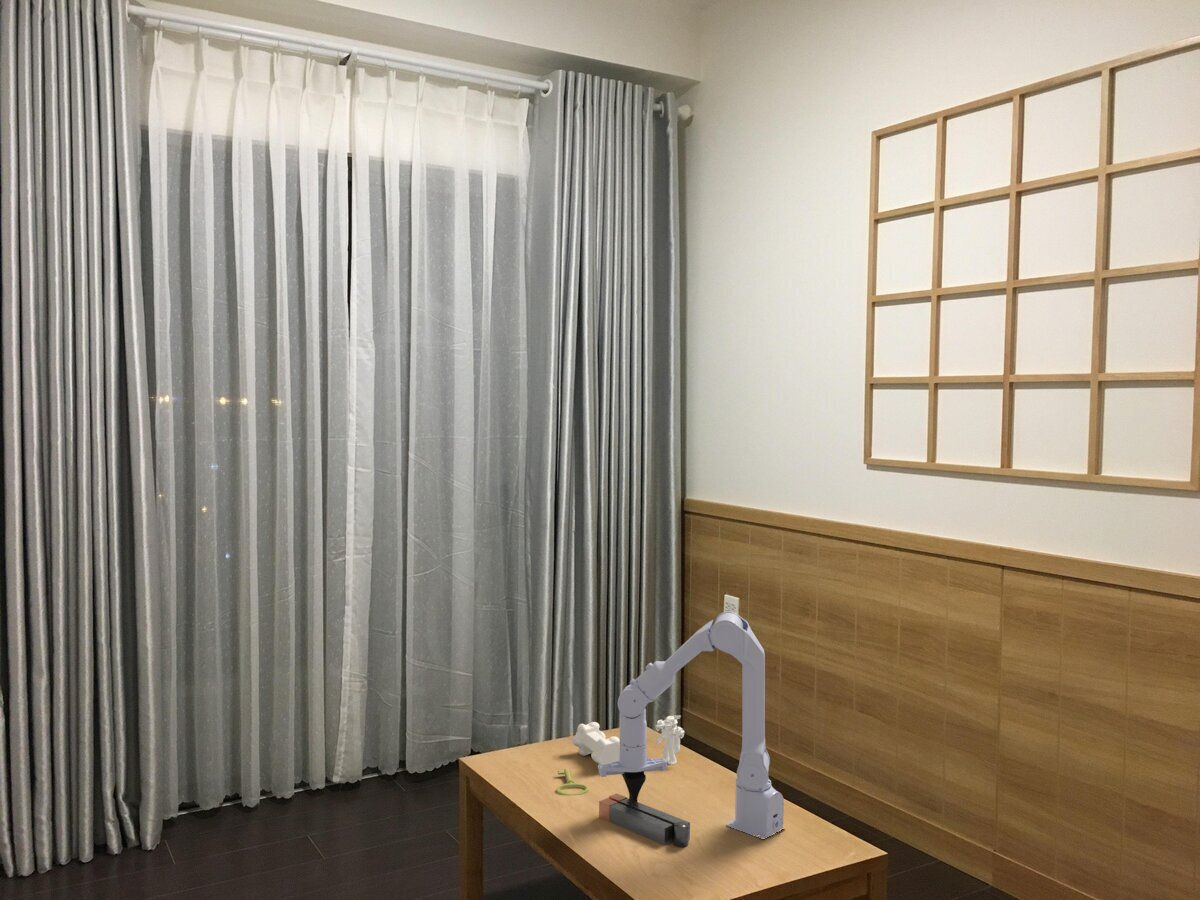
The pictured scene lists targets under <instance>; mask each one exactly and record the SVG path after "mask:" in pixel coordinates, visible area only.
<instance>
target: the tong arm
mask: <svg viewBox="0 0 1200 900" xmlns="http://www.w3.org/2000/svg"><path fill="white" fill-rule="evenodd" d="M608 798H609V799H611V800H614V801H616V802H618V803H620V804H622V805H625V806H627V807H630V808H632V809H635V810H637V811H640V812H642V813H644V814H647V815H649V816H652V817H654V818H657V819H659V820H662V821H664V822H667V823H669V824H672V825H673V834H672V841H673V844H674V846H675V847H678V848H685V847H688V846H689V841H690V839H691V837H690V836H691V834H690V833H691V822H690V821H688V820H685V819H683V818H679V817H677V816H675V815H672V814H669V813H667V812H664V811H662V810H659V809H656V808H653V807H652V806H649V805H646V804H644V803H641V802H638V801H637V802H636V801H634V800H631V799H629V797H627V796H624V795H622V794H621V793H616V792H615V793H614V794H612V795H608Z"/></svg>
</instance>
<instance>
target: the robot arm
mask: <svg viewBox="0 0 1200 900" xmlns="http://www.w3.org/2000/svg"><path fill="white" fill-rule="evenodd" d="M713 622H714V623H713ZM715 649H718V650H719V651H721V652H724V653H726V654H729V655H731V656H732V657H734V658H735V659H736V660H737V661H738V662H739V663H740V664H741V665H742V667H741V668H742V669H741V670H742V672H741V673H742V675H741V676H742V678H741V679H742V680H741V681H742V684H741V685H742V687H741V689H742V690H741V691H742V695H741V697H742V699H741V700H742V701H741V703H742V706H741V707H742V712H741V713H742V714H741V716H742V720H741V722H742V727H741V728H742V731H741V733H742V734H741V735H742V740H741V741H742V743H741V753H740V754H739V763H738V766H737V769H736V778H735V802H734V803H735V811H734V812H735V813H734V814H735V815H734V816H735V817H734V819H733V820H731V821H728V822H726V827H728V828H730V827H731V828H730V829H733V828H734V829H733V830H736V829H737V830H736V831H738V830H740V831H739V832H741V831H743V832H746V833H748V834H747V835H749V834H751V835H755V836H758V835H760V836H758V837H760V838H766V837H768V836H770V835H772V834H773V833H775V832H777V831H779V830H780V829H782V828H783V825H784V816H785V815H784V813H785V811H784V807H785V804H784V803H785V801H784V796H783V794H782V793H781V792H779V791H777V790H776V789H775V788H774V787H773V786H772V780H770V777H769V770H770V769H769V767H770V765H771V758H770V754H769V753H768V750H767V748H766V734H765V733H766V729H765V728H766V722H765V721H766V718H765V717H766V715H765V714H766V709H765V708H766V705H765V704H766V703H765V702H766V680H765V679H766V678H765V677H766V673H765V672H766V653H765V649H764V648H763V646H762V645H761V643H760V642H759V639H758V638H757V636H756V635H755V633H754V632H753V631H752V628H751V626H750V624H749V622H748V621H747V620H746V619H744V618H743V617H742V616H740V615H739V614H738V613H736V612H735V611H730V610H729V611H724V612H721V613H719V614H718V615H717V617H715V620H714V619H712V620H710V621H709V622H707V623H706V624H704V625H703V626H702V627H701V628H699V629H698V630H697V631H695V633H694V634H692V635H691V636H690V637H689V638H688V639H687V640H686V641H685V642H684V643H683V644H682V645H681V646H680V647H679V648H678V649H677V650H676V651H674V653H673V654H671V655H670V656H669V657H668V658H667V659H666V660H665V661H664V660H656V661H654V663H652V662H649V663H648V664H647V665H646V666H645V670H644V672H642V673H641V674H640V675H639V676H638V677H637V678H632V679H631V680H630V681H629V684H628V685H626V686H625V687H624V688H623V690H622V691H621V693H620V695H619V696H618V700H617V709H618V711H619V717H620V718H619V719H620V720H619V740H620V743H619V745H620V760H619V761H616V762H612V763H608V764H604V765H599V764H598V765H599V769H598V775H599V776H600V777H601V778H605V777H607V776H615V775H621V776H622V778H623V780H624V782H625V785H626V787H627V791H628V799H631V800H634V801H636V802H638V797H639V794H640V792H641V789H642V787H643V785H644V784H645V782H646V779H647V778H646V777H647V776H646V774H645V772H652V771H662V772H664V771H665V772H666V771H668V761H666V760H665V759H662V758H647V755H648V754H647V753H648V752H647V751H648V750H647V741H648V740H647V739H648V738H647V737H648V734H647V732H648V731H647V728H648V727H647V726H648V725H647V709H646V707H647V706H648V704H649V703H652V702H654V701H656V699H657V698H658V697H659V696H661V694H663V693H664V692H665V691H666V690H668V689H669V688H670V687H671V686H672V685H673V684H674V683H675V680H676V679H675V677H676V676H675V675H676V673H678V671H680V670H681V669H682V668H683V667H685V666H686V665H687V664H688V663H690V661H692V660H693V659H694V658H695V657H697V656H698V655H700V653H701V652H714V651H715ZM743 832H742V833H743ZM746 833H745V834H746ZM751 835H750V836H751Z"/></svg>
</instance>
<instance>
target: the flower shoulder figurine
mask: <svg viewBox="0 0 1200 900" xmlns="http://www.w3.org/2000/svg"><path fill="white" fill-rule="evenodd" d="M681 717H682V715H680V714H679V715H668V716H666V717H665V719H664V720H663V719H658V721H656V722H657V723H656V724H655V725H654V727H655V730H656V732H659V731H660V729H661V733H660V734H659V736H658V737H657V738H656V740H655V744H657V745H660V744H661V742H662V741H663V739H664V742H663V743H664V744H663V747H662V748H663V750H662V757H661V759H665V760H666V761H667V765H668V766H671V765H675V764H677V761H678V760H677V757H676V755H675V754H678V753H680V752H681V751H680V750H681V747H680V746H681V739H683V738H684V736H685V730H684V729H683V728H682V727H681V726H678V720H680V719H681Z"/></svg>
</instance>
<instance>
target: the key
mask: <svg viewBox="0 0 1200 900" xmlns="http://www.w3.org/2000/svg"><path fill="white" fill-rule="evenodd" d="M557 773H558V775H564V777H565V780H566V783H563V784H561V785H558V786H557V787H556V794H559V795H560V796H561V795H563V796H579V795H585V794H587V793H589V791H590V789H589V786H588V785H587V784H584V783H579V782H578V783H577V782H575V781H574V780H573V779H572V777H571V773H570V769H569V768H565V769H563V770H557ZM566 788H567V789H583V790H582V791H578V792H565V791H563V790H565V789H566ZM567 789H566V790H567Z"/></svg>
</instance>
